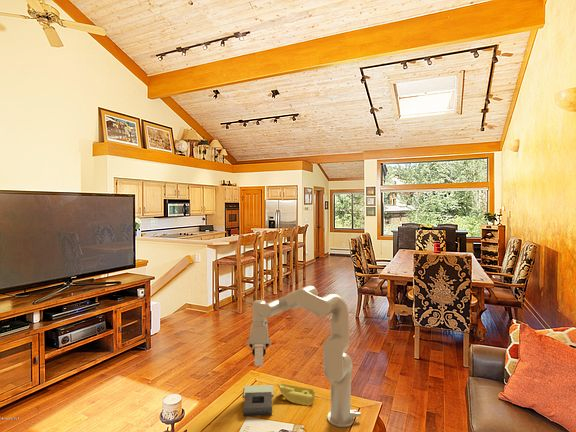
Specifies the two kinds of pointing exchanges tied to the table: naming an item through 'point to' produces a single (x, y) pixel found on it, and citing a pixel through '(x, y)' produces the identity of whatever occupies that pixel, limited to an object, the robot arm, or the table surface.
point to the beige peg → (259, 355)
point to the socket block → (257, 404)
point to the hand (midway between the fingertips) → (258, 355)
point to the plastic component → (297, 394)
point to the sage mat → (258, 389)
